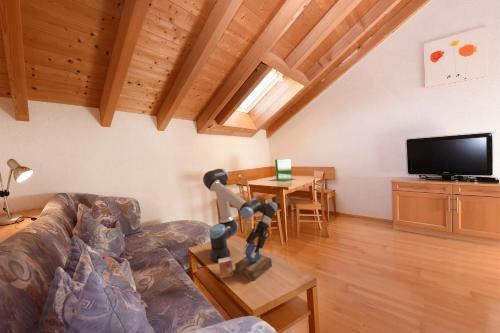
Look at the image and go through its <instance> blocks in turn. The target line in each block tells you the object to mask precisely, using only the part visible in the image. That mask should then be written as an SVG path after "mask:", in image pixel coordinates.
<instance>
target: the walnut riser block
mask: <svg viewBox="0 0 500 333" xmlns="http://www.w3.org/2000/svg"><path fill="white" fill-rule="evenodd" d="M259 255H260V259H258V260H256V261H254V262H251V261H250V260H248V259H247V258H246V256H245V257H243V258H242V259H241V260H239V261H237V262H235V264H234V268H235V273H237V274H240V275H241V276H243V277H246V278H247V279H250V280H252V281H256V280H257V279H258V278H259V277H261V276H262V275H263V274H264V273H265V274H266V272H267V271H268V270H270V269H271V268H272V267H273V264H272V262H273V261H272V258H270V257H268V256H265V255H263V254H260V253H259Z"/></svg>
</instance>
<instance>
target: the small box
mask: <svg viewBox="0 0 500 333" xmlns="http://www.w3.org/2000/svg"><path fill="white" fill-rule="evenodd" d="M217 263H218V271H219V277H220V279H224V278H225V279H226V278H229V277H233V276H234V272H233V262H232V258H231V256H230V257H226V258H221V259H218V262H217Z"/></svg>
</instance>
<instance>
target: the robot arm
mask: <svg viewBox="0 0 500 333" xmlns="http://www.w3.org/2000/svg"><path fill="white" fill-rule="evenodd" d="M229 178H230V177H229V173H228V171H227V170H226V169H224V168H216V169H212V170H209V171H207V172H205V173H204V174H203V177H202V182H203V185H204V186H205V187H206V189H208V190H209V191H210V192H214V193H215V195H216V201H217V205H218V211H219V217H220V219H219V224H215V225H213V226H211V227H210V228H209V239H210V241H209V242H210V247H211V250H210V254H209V260H210V261H211V262H213V263H218V259H221V258H226V257H230V258H231V251H230V249H229V246H228V241H227V240H228V239H229V238H230V239H231V237H233V236H234V235H235V234H236V233H237V232H238V230H239V224H238V221H236V219H235V218H234V217H233V216H232V211H231V206H233V207H234V208H236V209H237V210H238V211H239V212H240V215H241V217H243V219H250V218H252V217H254V215H255V214H257V213H260V214H261V216H260V219H259V220H258V222H257V224H256V228H252V229H251V231H250V233H249V235H248V236H247V238H246V240H245V242H246V245H245V248H244V250H243V254H245V255H246V248H247V246H249V241H250V240H254V241H255V239H256V238H257V241H256V247H255V248H254V250H253V252H252V254H251V257H252V258H254V257H255V255H256V253H257V252H258V250H259V251H260V249H263V248H264V246H265V242H266V239H267V238H268V236H269V234H268V233H267V231H268V229H269V226H270V225H271V222H272V221H273V219H274V216H275V214H276V213H277V210H278V204H277V203H275V202H274V201H268V202H264V201H262V200H259V199H257V198H255V197H254V198H251V200H250V201H249V202H247V201H246V200H244V199H243V198H241V197H240V196H239V195H238V194H236V193H235V192H234V191H232V190H231V189H229V188H228V187H227V186H228V180H229ZM230 205H231V206H230Z"/></svg>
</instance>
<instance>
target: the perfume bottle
mask: <svg viewBox="0 0 500 333" xmlns="http://www.w3.org/2000/svg"><path fill="white" fill-rule="evenodd" d="M256 246H257V244H256V245H255V239H254V240H250V241H249V246H247V248H246V254H245V257H246V258H247V259H248V260H250V261H251V262H254V261H256V260H258V259H260V255H261V254H260V249H259V250H258V252H257V253H256V255H255V257H254V258H252V257H251V254H252V252H253V250H254V248H255V247H256ZM259 254H260V255H259Z"/></svg>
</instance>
